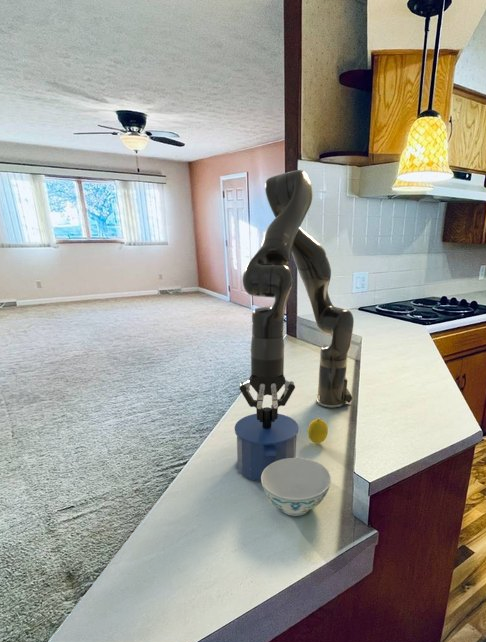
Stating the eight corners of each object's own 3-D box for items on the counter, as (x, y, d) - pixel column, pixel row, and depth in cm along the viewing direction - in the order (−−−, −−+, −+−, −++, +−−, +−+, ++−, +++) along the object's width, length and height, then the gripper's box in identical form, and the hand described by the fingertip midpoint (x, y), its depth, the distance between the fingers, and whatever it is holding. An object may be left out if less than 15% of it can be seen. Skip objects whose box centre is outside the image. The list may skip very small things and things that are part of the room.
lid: (293, 415, 110) (294, 395, 108) (303, 445, 96) (304, 422, 94) (234, 417, 107) (233, 396, 105) (234, 449, 93) (234, 425, 91)
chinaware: (254, 491, 95) (254, 463, 92) (315, 480, 100) (316, 453, 97) (270, 536, 82) (271, 504, 79) (339, 521, 87) (342, 491, 84)
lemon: (324, 450, 114) (326, 424, 111) (305, 447, 114) (306, 421, 111) (328, 440, 119) (330, 415, 116) (309, 437, 119) (311, 413, 116)
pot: (289, 443, 116) (290, 409, 112) (300, 486, 98) (302, 448, 94) (237, 446, 113) (236, 411, 109) (238, 490, 95) (237, 451, 91)
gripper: (236, 359, 89) (238, 429, 96) (299, 358, 92) (297, 426, 99) (236, 348, 96) (238, 415, 103) (295, 348, 99) (293, 412, 105)
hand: (267, 420), depth 101 cm, fingers closed on lid, 2 cm apart
